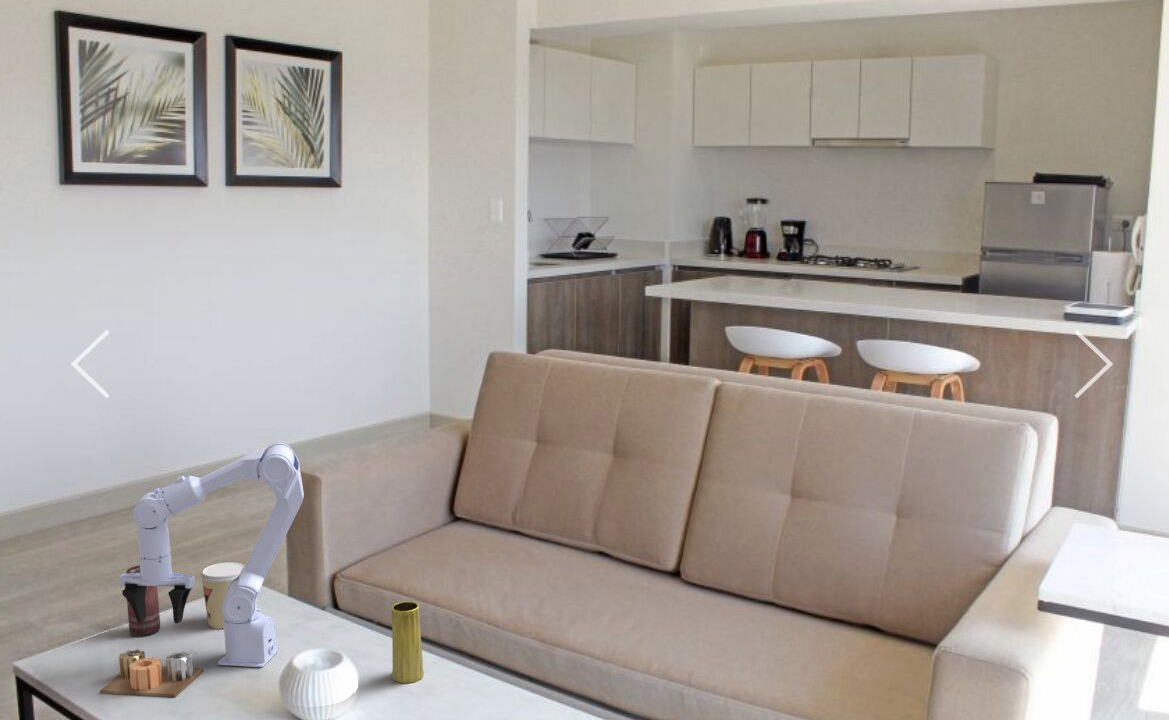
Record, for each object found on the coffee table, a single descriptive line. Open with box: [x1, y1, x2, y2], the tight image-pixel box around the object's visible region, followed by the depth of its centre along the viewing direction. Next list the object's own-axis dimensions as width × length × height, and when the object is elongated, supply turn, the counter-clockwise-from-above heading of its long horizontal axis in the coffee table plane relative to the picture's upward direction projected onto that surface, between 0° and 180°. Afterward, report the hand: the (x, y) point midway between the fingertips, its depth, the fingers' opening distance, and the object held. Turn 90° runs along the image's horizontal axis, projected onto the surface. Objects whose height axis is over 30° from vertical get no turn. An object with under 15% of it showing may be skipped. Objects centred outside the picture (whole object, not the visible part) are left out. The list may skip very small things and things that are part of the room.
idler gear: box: [129, 656, 163, 690], centre depth 204 cm, size 5×5×4 cm
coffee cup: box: [200, 561, 245, 630], centre depth 234 cm, size 9×9×12 cm
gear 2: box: [165, 650, 194, 682], centre depth 207 cm, size 5×5×4 cm
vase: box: [391, 600, 425, 684], centre depth 207 cm, size 6×6×14 cm
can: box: [125, 564, 161, 637], centre depth 229 cm, size 6×6×14 cm
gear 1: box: [118, 649, 146, 679], centre depth 208 cm, size 5×5×4 cm
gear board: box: [99, 665, 205, 698], centre depth 206 cm, size 15×11×4 cm
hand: (160, 620), depth 212 cm, fingers open, 7 cm apart
